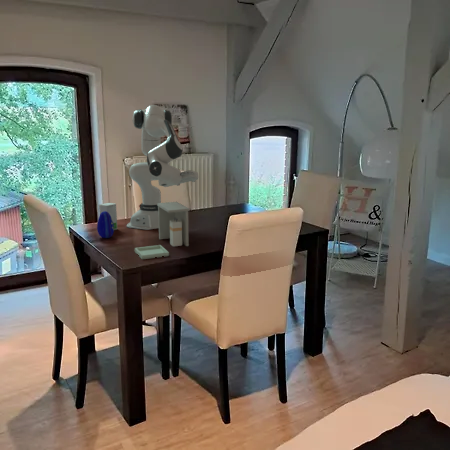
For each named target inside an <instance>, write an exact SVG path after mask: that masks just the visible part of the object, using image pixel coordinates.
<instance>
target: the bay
mask: <svg viewBox="0 0 450 450" xmlns="http://www.w3.org/2000/svg"><path fill="white" fill-rule="evenodd" d="M157 206H158V217H159V228H158V239H159V240H167V239H168V240H169V239H170V220H174V217H175V218H177V219H178V220H180V221H182V245H184V246H185V247H189V245H190V244H189V237H190V236H189V212H190V208H189V207H188V206H186V205H184V204H181V203H180V202H179V201H169V202H166V201H165V202H161V203H157Z"/></svg>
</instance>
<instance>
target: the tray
mask: <svg viewBox="0 0 450 450" xmlns="http://www.w3.org/2000/svg"><path fill="white" fill-rule="evenodd" d="M134 252H135V254H138V255H139V256H138V255H137V256H138V257H139V258H140V259H141V260H146V259H147V260H148V259H155V257H157V258H163V257H162V256H164V257H169V256H170V252H169V251H168V250H167V249H166V248H165V247H164V246H162V245H161V244H158V245H157V244H155V245H149V246H148V245H147V246H140V247H134Z"/></svg>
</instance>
